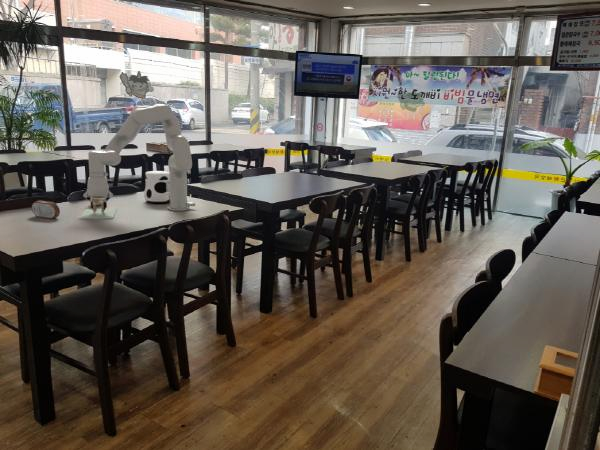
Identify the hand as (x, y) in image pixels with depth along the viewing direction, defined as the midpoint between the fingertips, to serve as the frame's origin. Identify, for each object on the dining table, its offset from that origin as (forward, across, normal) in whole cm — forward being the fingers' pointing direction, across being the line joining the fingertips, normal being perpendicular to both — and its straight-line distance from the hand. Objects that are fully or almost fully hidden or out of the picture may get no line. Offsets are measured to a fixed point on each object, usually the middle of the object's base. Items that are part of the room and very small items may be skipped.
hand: (98, 208), depth 255 cm
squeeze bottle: (+3, +4, -25) cm, 26 cm away
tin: (+3, +24, +7) cm, 25 cm away
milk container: (+3, -30, -34) cm, 45 cm away
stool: (+1, 0, 0) cm, 1 cm away
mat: (+3, 0, 0) cm, 3 cm away
